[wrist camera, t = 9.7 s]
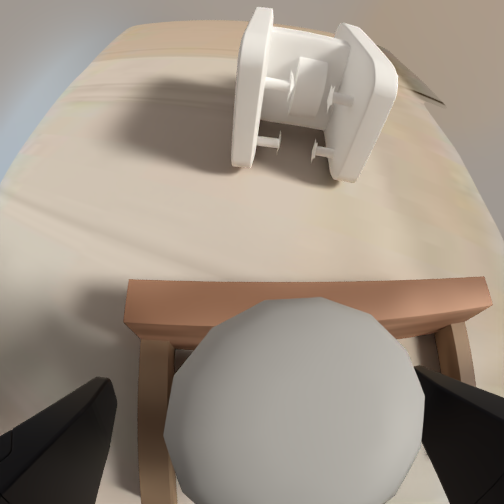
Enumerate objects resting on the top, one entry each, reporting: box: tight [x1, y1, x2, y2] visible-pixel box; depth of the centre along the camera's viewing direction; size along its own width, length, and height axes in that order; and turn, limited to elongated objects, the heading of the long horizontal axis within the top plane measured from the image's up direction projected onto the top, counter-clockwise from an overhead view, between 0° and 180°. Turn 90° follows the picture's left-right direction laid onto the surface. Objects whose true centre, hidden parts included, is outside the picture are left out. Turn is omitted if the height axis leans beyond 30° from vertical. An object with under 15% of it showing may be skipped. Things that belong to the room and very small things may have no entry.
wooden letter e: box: [123, 276, 493, 504], centre depth 13 cm, size 12×20×5 cm, turn 92°
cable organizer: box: [231, 7, 399, 183], centre depth 22 cm, size 15×11×12 cm
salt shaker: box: [163, 297, 425, 504], centre depth 9 cm, size 6×6×13 cm
